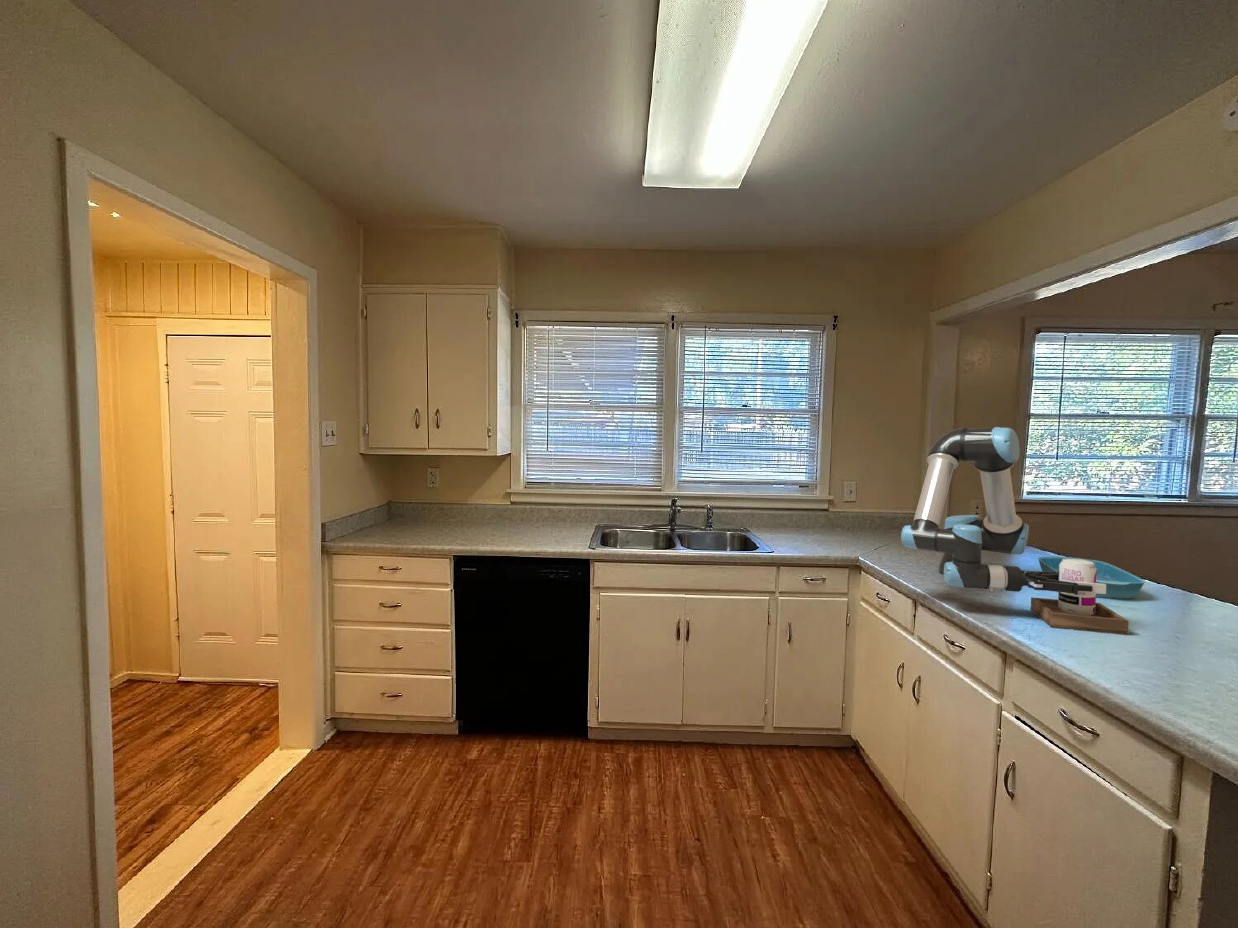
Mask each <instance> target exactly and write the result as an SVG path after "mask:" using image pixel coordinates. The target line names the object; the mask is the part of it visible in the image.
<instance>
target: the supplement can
mask: <svg viewBox="0 0 1238 928" xmlns="http://www.w3.org/2000/svg"><path fill="white" fill-rule="evenodd" d="M1096 577H1097V568H1096V567H1095V565H1094V563H1093V562H1090V561H1086V560H1080V559H1063V560H1062V562H1061V563H1060V564H1059V581H1065V582H1072V583H1076V582H1084V583H1096ZM1057 593H1058V595H1057V600H1058V607H1059V608H1060V609H1061V611H1063V612H1066V613H1069V614H1074V615H1083V616H1090V615H1092V614H1094V613H1095V606H1096V603H1097V597H1096V593H1085V592H1078V595H1075V594H1073V593H1064V592H1057Z"/></svg>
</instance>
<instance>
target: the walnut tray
mask: <svg viewBox="0 0 1238 928" xmlns="http://www.w3.org/2000/svg"><path fill="white" fill-rule="evenodd" d="M1030 611H1031V612H1033V613H1034V614H1035V615H1036V616H1037V617H1038V618H1039V619H1041V621H1043V622H1044V623H1045V624H1046V625H1047V626H1049V627H1050V628H1051V629H1062V630H1070V629H1073V631H1082V632H1091V633H1092V632H1093V633H1101V634H1102V633H1103V634H1114V635H1124V636H1128V635H1129V620H1128V619H1126V618H1125V617H1123V616H1122V615H1120V614H1119V613H1117V612H1115V611H1114V610H1112V609H1110V608H1109V607H1107V606H1106V605H1104V604H1102V603H1101V602H1096V606H1095V613H1094V614H1092V615H1090V616H1083V615H1074V614H1069V613H1066V612H1063V611H1061V609H1060V608H1059V607H1058V598H1057V599H1054V598H1041V597H1030Z"/></svg>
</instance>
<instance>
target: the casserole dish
mask: <svg viewBox="0 0 1238 928" xmlns="http://www.w3.org/2000/svg"><path fill="white" fill-rule="evenodd" d="M1063 559H1080V560H1086V561H1090V562H1093V563H1094V565H1095V567H1096V568H1097V577H1096V583H1099V584H1106V594H1098V593H1096V598H1104V599H1119V600H1130V599H1133V598H1135V597H1136V596H1137V595H1138V594H1139V593H1140V591H1141V589H1142V588H1143V586H1144V585H1145V580H1144V579H1142V578H1141V577H1139V576H1137V575H1134V574H1133V573H1130V572H1128V571H1126V570H1124V569H1123V568H1120V567H1117V566H1116V565H1114V564H1110V563H1109V562H1105V561H1102V560H1094V559H1087V558H1081V557H1071V556H1057V555H1056V556H1055V555H1054V556H1042V557H1041V556H1040V557H1038V563H1039V565H1040V568H1041V571H1042V572H1057V573H1058V571H1059V564H1060V563H1061V562H1062V560H1063Z"/></svg>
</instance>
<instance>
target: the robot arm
mask: <svg viewBox="0 0 1238 928" xmlns="http://www.w3.org/2000/svg"><path fill="white" fill-rule="evenodd" d="M1020 452H1021V451H1020V440H1019V437H1018V435H1017V433H1016V431H1015V430H1014V429H1012V428H1010V427H999V426H995V427H960V428H959V427H958V428H954V429H952V430H950V431H948V432H946V433H944V434H943V435H941V436H940V437H939V438H938V439H937V440H936V441H935V442H934V444H933V445H932V446H931V448H930V450H929V452H928V454H927V458H926V463H927V464H928V466H927V471H926V474H925V478H924V482H923V485H922V489H921V493H920V496H919V500H918V502H917V507H916V510H915V513H914V517H913V521H912V524H908V525H904V526H903V527H902V530H901V534H900V540H901V544H902V545H903V546H904V547H905V548H909V549H914V550H917V551H918V550H920V551H930V552H935V553H936V552H937V553H942V556H941V559H940V561H939V563H938V564H939V565H938V572H939V573H940V574H941V575H943V579H944V582H945V584H946V585H948V586H949V587H950V586H951V587H959V588H961V589H964V588H965V589H967V588H968V589H983V590H990V592H994V591H995V590H997V591H1006V592H1018V593H1019V592H1021V591H1022V589H1023V587H1024V586H1025V587H1027V588H1030V589H1034V590H1035V591H1049V592H1056V593H1058V592H1064V593H1073V594H1075V595H1078V592H1085V593H1098V594H1106V584H1099V583H1084V582H1076V583H1072V582H1065V581H1059V571H1058V573H1057V572H1043V571H1042V570H1041V571H1039V570H1021V568H1020V567H1019V566H1017V565H1016V566H1014V565H1004V566H1003V565H1001V564H984V563H983V564H982V551H986V552H993V553H1001V554H1008V555H1021V554H1024V553H1025V551H1026V547H1027V543H1028V537H1029V532H1030V526H1029V524H1027V523H1024V522H1023V520H1022V518H1021V517H1020V516H1019V515H1017V514H1016V506H1015V505H1016V504H1015V497H1014V490H1013V489H1014V488H1013V482H1012V475H1011V468H1012V467H1013V466H1014V465H1015V463H1016V462H1018V461H1019V458H1020ZM960 462H972V464H973V468H975V470H977V471H979V474H980V480H981V486H982V487H981V488H982V493H983V499H984V505H985V511H986V516H985V517H984V519H981V516H980V515H978V514H965V515H964V514H963V515H962V514H960V515H951V516H948V517H946V519H945V520H944V527H943V528H939V526H940V523H941V520H942V516H943V511H944V509H945V508H944V506H945V503H946V500H947V495H948V492H949V489H950V484H951V480H952V477H953V473H954V470H955V469H957V467H959V463H960Z"/></svg>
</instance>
